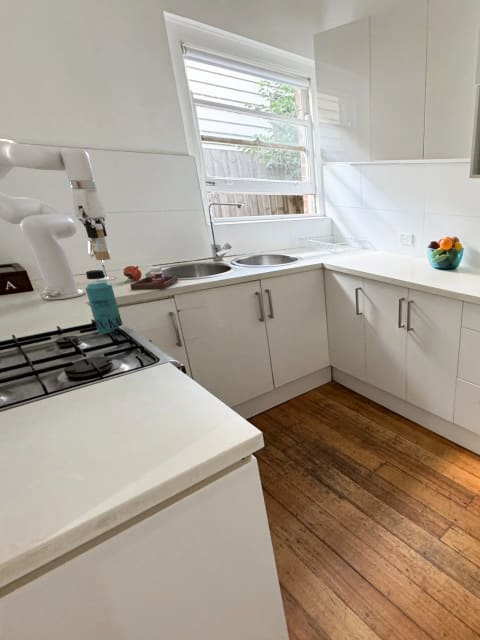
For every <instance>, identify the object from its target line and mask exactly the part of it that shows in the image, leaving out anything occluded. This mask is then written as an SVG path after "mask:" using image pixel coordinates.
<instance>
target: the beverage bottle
mask: <svg viewBox="0 0 480 640" xmlns="http://www.w3.org/2000/svg"><path fill="white" fill-rule="evenodd" d="M85 274H86V279H87V280H95V281H90V282H87V284H86V285H85V287H84V289H85V291H86V295H87V298H88V303H89V306H90V311H91V313H92V317H93V319H92V320H93V321H94V325H95V327H96V331H97V332H98V334H100V333H109V332H112V331H114V330H115V329H117V328H118V327H119V326H121V325H124V324H123V323H124V322H123V321H122V317H121V313H120V309H119V306H118V302H117V300H116V297H115V293H114V289H113V285H112V283H110V282H108V281H107V280H104V281H101V280H99V279H101V278H105V275H104V271H103V269H102V270H101V269H93V270H87V271H86V272H85Z"/></svg>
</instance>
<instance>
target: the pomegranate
mask: <svg viewBox="0 0 480 640" xmlns="http://www.w3.org/2000/svg"><path fill="white" fill-rule="evenodd" d="M122 272H123V276H124V277H127V279H126V280H125V283H127V282H128V281H129V280H130V281H135V282H137V281H139V280H141V279H142V276H143V273H142V271H141V270H140V269H139V266H138V265H136V266H133V265H129V266H126V267H125V268H124V269H123V271H122Z"/></svg>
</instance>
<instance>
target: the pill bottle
mask: <svg viewBox="0 0 480 640" xmlns="http://www.w3.org/2000/svg"><path fill="white" fill-rule="evenodd" d="M149 269H150V277H151V278H152V282H153V284H163V283H165V279H164V277H165V276H164V272H163V270H162V267H161V266H152V267H150V268H149Z"/></svg>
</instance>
